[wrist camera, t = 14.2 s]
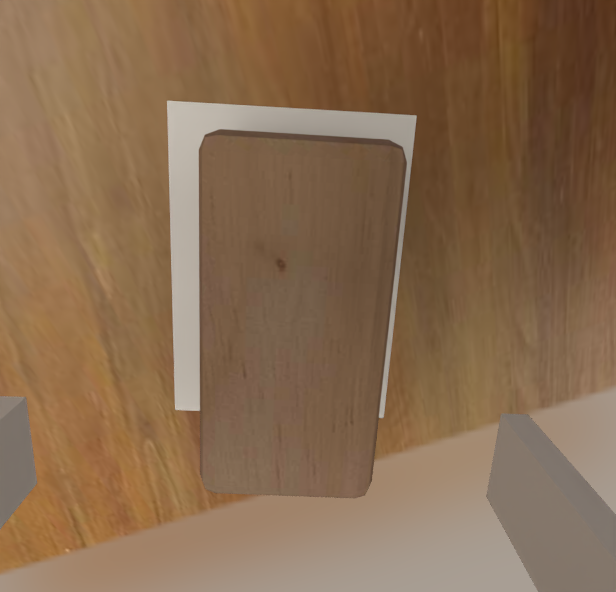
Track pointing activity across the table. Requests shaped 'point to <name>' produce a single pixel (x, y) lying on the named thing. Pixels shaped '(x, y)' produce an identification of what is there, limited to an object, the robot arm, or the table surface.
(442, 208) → the table surface
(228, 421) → the wooden block
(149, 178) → the table surface
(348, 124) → the white mat
